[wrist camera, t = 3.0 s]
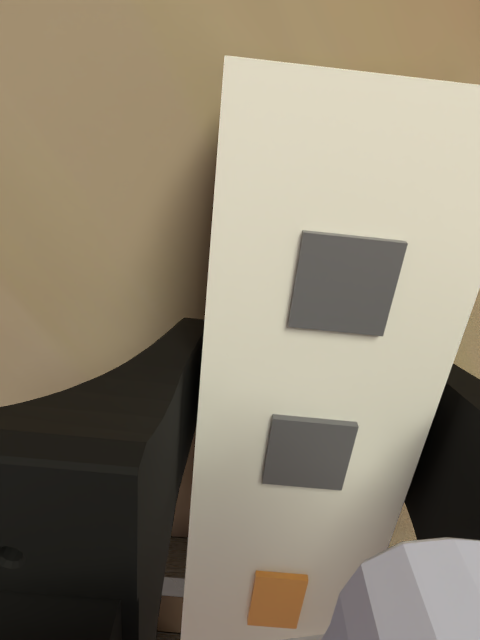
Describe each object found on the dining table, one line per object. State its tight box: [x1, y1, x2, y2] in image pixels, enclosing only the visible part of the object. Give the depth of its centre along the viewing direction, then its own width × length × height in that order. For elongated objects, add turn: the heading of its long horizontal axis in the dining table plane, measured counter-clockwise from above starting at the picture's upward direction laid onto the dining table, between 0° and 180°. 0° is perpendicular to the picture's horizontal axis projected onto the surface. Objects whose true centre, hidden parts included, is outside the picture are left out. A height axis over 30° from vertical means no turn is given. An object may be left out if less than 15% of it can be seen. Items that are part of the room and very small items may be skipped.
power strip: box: [180, 55, 480, 640], centre depth 11 cm, size 4×13×5 cm, turn 174°
